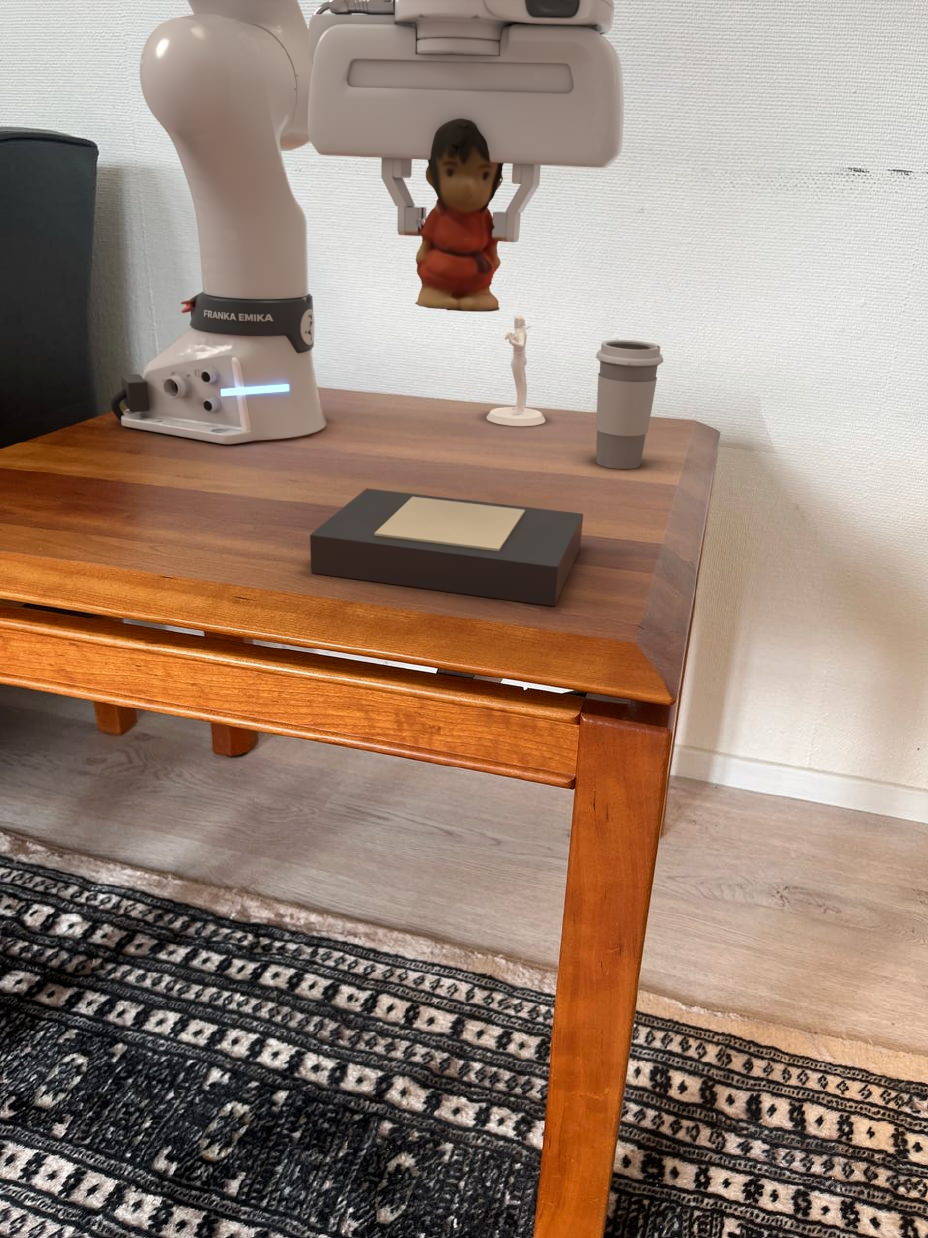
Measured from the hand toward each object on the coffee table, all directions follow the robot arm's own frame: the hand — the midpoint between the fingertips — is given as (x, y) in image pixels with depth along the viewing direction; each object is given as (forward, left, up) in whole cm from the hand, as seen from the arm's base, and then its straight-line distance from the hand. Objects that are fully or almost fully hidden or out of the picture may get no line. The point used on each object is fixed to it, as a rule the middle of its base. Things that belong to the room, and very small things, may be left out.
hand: (458, 238), depth 65 cm
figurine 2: (-5, +48, -23) cm, 54 cm away
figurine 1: (0, 0, -5) cm, 5 cm away
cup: (+9, +33, -23) cm, 41 cm away
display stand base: (0, 0, -23) cm, 23 cm away
